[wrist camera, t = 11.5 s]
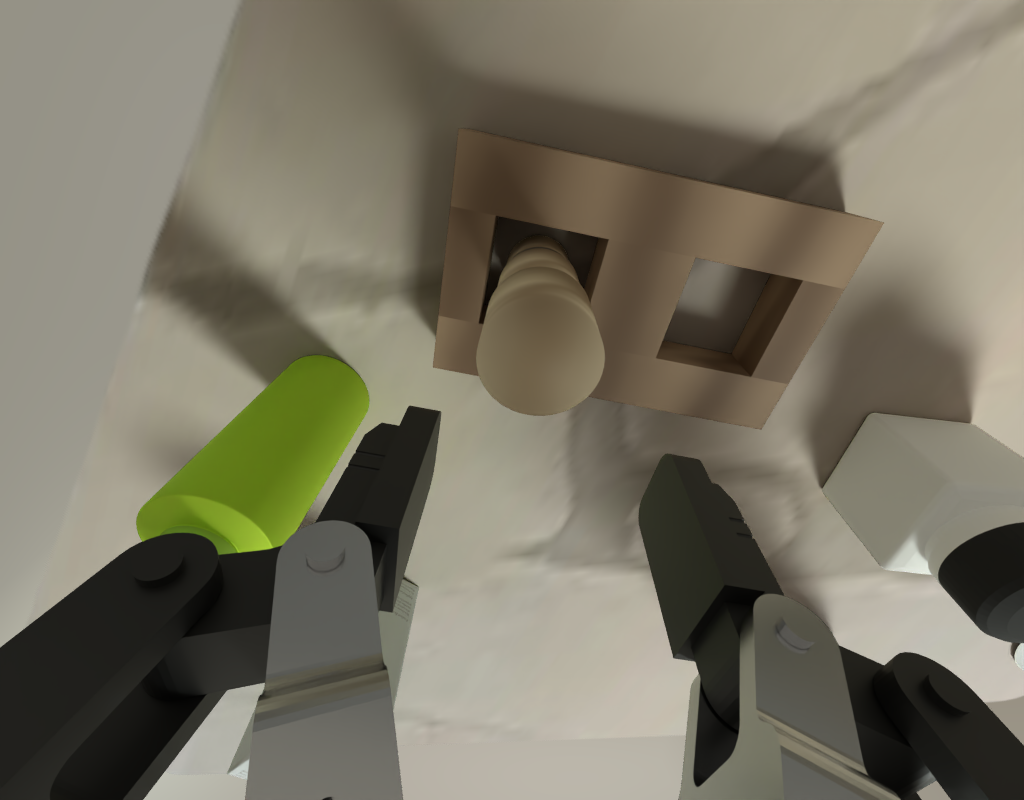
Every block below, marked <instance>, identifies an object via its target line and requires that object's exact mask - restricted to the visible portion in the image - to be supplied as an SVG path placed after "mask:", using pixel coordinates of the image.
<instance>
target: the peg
mask: <svg viewBox="0 0 1024 800" xmlns="http://www.w3.org/2000/svg"><path fill="white" fill-rule="evenodd" d="M476 363H477V370H478V374H479V377H480V379H481V381H482V383H483V385H484V387H485V388H486V390H487V391H488V392H489V394H490V395H491V396H492V397H493V398H494V399H495V400H497V401H498V402H499V403H500V404H502V405H504V406H505V407H507V408H509V409H511V410H513V411H516V412H519V413H522V414H527V415H534V416H545V415H553V414H557V413H561V412H564V411H567V410H569V409H571V408H573V407H575V406H576V405H578V404H580V403H581V402H582V401H583V400H585V399H586V398H587V397H588V396H589V395H590V394H591V393H592V391H593V390H594V389H595V387H596V386H597V384H598V382H599V381H600V378H601V376H602V373H603V369H604V363H605V351H604V345H603V342H602V338H601V335H600V332H599V329H598V326H597V323H596V320H595V316H594V313H593V310H592V307H591V304H590V301H589V298H588V296H587V294H586V292H585V290H584V289H583V287H582V286H581V285H580V284H579V280H578V277H577V274H576V271H575V269H574V268H573V266H572V265H571V263H570V262H569V259H568V256H567V253H566V251H565V250H564V248H563V247H562V246H561V245H560V244H559V243H558V242H557V241H556V240H554V239H552V238H550V237H547V236H541V235H536V236H530V237H527V238H525V239H523V240H521V241H520V242H519V243H517V244H516V245H515V246H514V248H513V249H512V250H511V252H510V254H509V256H508V260H507V264H506V266H505V267H504V269H503V271H502V273H501V275H500V279H499V283H498V287H497V288H496V290H495V291H494V293H493V295H492V296H491V299H490V301H489V305H488V308H487V312H486V316H485V320H484V324H483V328H482V332H481V335H480V339H479V343H478V347H477V354H476Z"/></svg>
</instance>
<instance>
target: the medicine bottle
mask: <svg viewBox="0 0 1024 800" xmlns="http://www.w3.org/2000/svg"><path fill="white" fill-rule="evenodd" d="M822 491H823V493H824V495H825V496H826V497H827V499H828V500H829V501H830V502H831V504H832V505H833V506H834V508H835V509H836V510H837V511H838V513H839V514H840V515H841V516H842V518H843V519H844V520H845V522H846V523H847V524H848V525H849V527H850V528H851V529H852V531H853V532H854V533H855V534H856V536H857V537H858V538H859V539H860V541H861V542H862V543H863V545H864V546H865V547H866V548H867V550H868V551H869V552H870V553H871V555H872V556H873V557H874V559H875V560H876V561H877V562H878V564H879V565H880V566H881V567H882V568H883V569H885V570H892V571H901V572H911V573H920V574H929V575H933V577H934V578H935V579H936V580H937V581H938V582H939V583H940V585H941V586H942V587H943V588H944V589H945V590H946V591H947V593H948V594H949V595H950V596H951V597H952V598H953V599H954V600H955V602H956V603H957V604H958V605H959V606H960V607H961V608H962V609H963V611H964V612H965V613H966V614H967V615H968V616H969V617H970V619H971V620H972V621H973V622H974V623H975V624H976V625H977V626H978V628H979V629H980V630H981V631H983V632H984V633H986V634H988V635H989V636H992V637H995V638H998V639H1000V640H1003V641H1007V642H1013V643H1024V458H1023V457H1022V456H1020V455H1019V454H1017V453H1016V452H1014V451H1013V450H1011V449H1010V448H1008V447H1007V446H1005V445H1004V444H1002V443H1001V442H1000V441H998V440H997V439H995V438H994V437H992V436H991V435H989V434H988V433H986V432H985V431H983V430H982V429H980V428H979V427H977V426H976V425H973V424H970V423H961V422H953V421H944V420H935V419H926V418H917V417H908V416H899V415H890V414H881V413H871V414H869V415H868V416H867V418H866V419H865V421H864V423H863V424H862V426H861V428H860V429H859V431H858V432H857V434H856V436H855V437H854V439H853V440H852V442H851V444H850V445H849V447H848V448H847V450H846V452H845V453H844V455H843V456H842V458H841V460H840V461H839V463H838V464H837V466H836V468H835V469H834V471H833V472H832V474H831V476H830V477H829V479H828V481H827V482H826V484H825V485H824V487H823V489H822Z"/></svg>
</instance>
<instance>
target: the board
mask: <svg viewBox="0 0 1024 800" xmlns="http://www.w3.org/2000/svg"><path fill="white" fill-rule="evenodd" d="M498 216H500V217H505V218H510V219H514V220H519V221H524V222H529V223H533V224H538V225H543V226H548V227H552V228H557V229H562V230H567V231H571V232H576V233H581V234H586V235H590V236H595V237H599V238H598V242H597V245H596V249H595V252H594V256H593V260H592V263H591V267H590V270H589V274H588V277H587V281H586V285H585V288H584V290H585V292H586V294H587V296H588V298H589V301H590V304H591V307H592V310H593V313H594V316H595V320H596V323H597V326H598V329H599V332H600V335H601V338H602V342H603V345H604V351H605V363H604V369H603V373H602V376H601V378H600V381H599V382H598V384H597V386H596V387H595V389H594V390H593V391H592V393H591V394H590V395H589V396H588V397H592V398H597V399H603V400H608V401H613V402H619V403H624V404H629V405H634V406H640V407H645V408H650V409H656V410H661V411H666V412H671V413H677V414H682V415H687V416H693V417H698V418H703V419H708V420H714V421H719V422H724V423H730V424H735V425H740V426H745V427H751V428H756V429H762V427H763V426H764V424H765V422H766V421H767V419H768V417H769V416H770V414H771V412H772V411H773V409H774V407H775V406H776V404H777V402H778V401H779V399H780V397H781V395H782V394H783V392H784V390H785V389H786V387H787V385H788V384H789V382H790V380H791V379H792V377H793V375H794V374H795V372H796V370H797V369H798V367H799V365H800V363H801V362H802V360H803V358H804V357H805V355H806V353H807V352H808V350H809V348H810V347H811V345H812V343H813V342H814V340H815V338H816V337H817V335H818V333H819V332H820V330H821V328H822V326H823V325H824V323H825V321H826V320H827V318H828V316H829V315H830V313H831V311H832V310H833V308H834V306H835V305H836V303H837V301H838V300H839V298H840V296H841V294H842V293H843V291H844V289H845V288H846V286H847V284H848V283H849V281H850V279H851V278H852V276H853V274H854V273H855V271H856V269H857V268H858V266H859V264H860V263H861V261H862V259H863V257H864V256H865V254H866V252H867V251H868V249H869V247H870V246H871V244H872V242H873V241H874V239H875V237H876V236H877V234H878V232H879V231H880V229H881V227H882V225H883V224H884V223H883V222H880V221H876V220H872V219H869V218H865V217H861V216H858V215H854V214H850V213H847V212H842V211H838V210H833V209H829V208H824V207H820V206H815V205H811V204H806V203H802V202H797V201H792V200H788V199H783V198H779V197H774V196H770V195H765V194H761V193H756V192H752V191H747V190H743V189H738V188H734V187H729V186H725V185H720V184H716V183H711V182H707V181H702V180H698V179H693V178H688V177H684V176H679V175H675V174H670V173H666V172H661V171H657V170H652V169H648V168H643V167H639V166H634V165H630V164H625V163H621V162H616V161H612V160H607V159H603V158H598V157H594V156H589V155H584V154H580V153H575V152H571V151H566V150H562V149H557V148H553V147H548V146H544V145H539V144H535V143H530V142H526V141H521V140H517V139H512V138H508V137H503V136H499V135H494V134H489V133H485V132H480V131H476V130H471V129H459V130H458V139H457V149H456V158H455V167H454V176H453V185H452V195H451V204H450V213H449V222H448V232H447V241H446V250H445V259H444V269H443V278H442V287H441V296H440V306H439V315H438V324H437V333H436V343H435V352H434V361H433V367H434V368H439V369H444V370H450V371H455V372H460V373H465V374H471V375H476V376H479V374H478V370H477V363H476V354H477V347H478V343H479V339H480V335H481V332H482V328H483V324H484V320H485V316H486V312H487V308H488V306H487V305H484V302H485V296H486V290H487V284H488V278H489V272H490V265H491V259H492V253H493V247H494V241H495V235H496V229H497V222H498ZM695 258H700V259H704V260H709V261H714V262H719V263H723V264H728V265H733V266H738V267H742V268H747V269H752V270H757V271H761V272H766V273H771V275H770V277H769V279H768V281H767V283H766V285H765V287H764V290H763V292H762V294H761V296H760V298H759V300H758V302H757V304H756V306H755V308H754V310H753V312H752V314H751V316H750V318H749V320H748V322H747V324H746V326H745V328H744V330H743V332H742V334H741V336H740V338H739V340H738V342H737V344H736V346H735V348H734V350H733V352H732V354H728V353H723V352H718V351H713V350H708V349H703V348H698V347H693V346H688V345H683V344H678V343H673V342H668V341H663V338H664V336H665V333H666V331H667V328H668V326H669V323H670V321H671V318H672V316H673V313H674V311H675V308H676V306H677V303H678V301H679V298H680V296H681V293H682V291H683V288H684V286H685V283H686V281H687V278H688V276H689V273H690V271H691V268H692V266H693V263H694V261H695Z"/></svg>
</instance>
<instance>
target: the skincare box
mask: <svg viewBox="0 0 1024 800" xmlns="http://www.w3.org/2000/svg"><path fill="white" fill-rule="evenodd" d="M418 590H419V588H418V587H417V586H415V585H413V584H411V583H410V582H408V581H406V580H404V579H403V580H402V583H401V586H400V590H399V593H398V596H397V600H396V603H395V606H394V610H393V613H391V612H384V611H379V613H378V617H379V626H380V636H381V645H382V654H383V661H384V664H385V665H386V666H387V669H388V674H389V680H390V688H391V696H392V705H393V710H394V705H395V700H396V695H397V691H398V686H399V681H400V676H401V672H402V667H403V662H404V657H405V652H406V647H407V642H408V638H409V633H410V628H411V623H412V618H413V614H414V609H415V604H416V599H417V594H418ZM263 691H264V690H263ZM262 694H263V692H262ZM255 710H256V708H255ZM255 710H254V713H253V715H252V717H251V720H250V722H249V724H248V726H247V729H246V731H245V733H244V735H243V738H242V740H241V742H240V745H239V747H238V749H237V752H236V754H235V756H234V759H233V761H232V763H231V766H230V768H229V770H228V773H227V774H228V775H232V776H236V777H239V778H243V779H246V780H247V777H248V768H249V759H250V749H251V740H252V731H253V723H254V716H255Z"/></svg>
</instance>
